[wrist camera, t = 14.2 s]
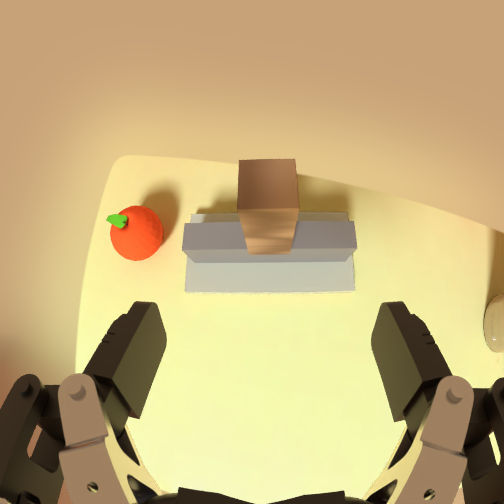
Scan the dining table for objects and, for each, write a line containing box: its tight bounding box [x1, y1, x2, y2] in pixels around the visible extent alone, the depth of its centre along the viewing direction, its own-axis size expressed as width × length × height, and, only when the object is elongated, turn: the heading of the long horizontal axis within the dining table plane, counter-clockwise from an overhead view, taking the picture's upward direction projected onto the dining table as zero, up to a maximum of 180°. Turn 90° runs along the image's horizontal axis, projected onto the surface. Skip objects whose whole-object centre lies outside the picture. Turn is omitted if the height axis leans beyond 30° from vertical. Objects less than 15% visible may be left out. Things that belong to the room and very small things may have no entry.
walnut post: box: [237, 159, 299, 255], centre depth 23 cm, size 4×4×10 cm
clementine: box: [107, 206, 163, 261], centre depth 32 cm, size 8×7×7 cm
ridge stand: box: [182, 212, 357, 294], centre depth 31 cm, size 20×10×6 cm, turn 89°
